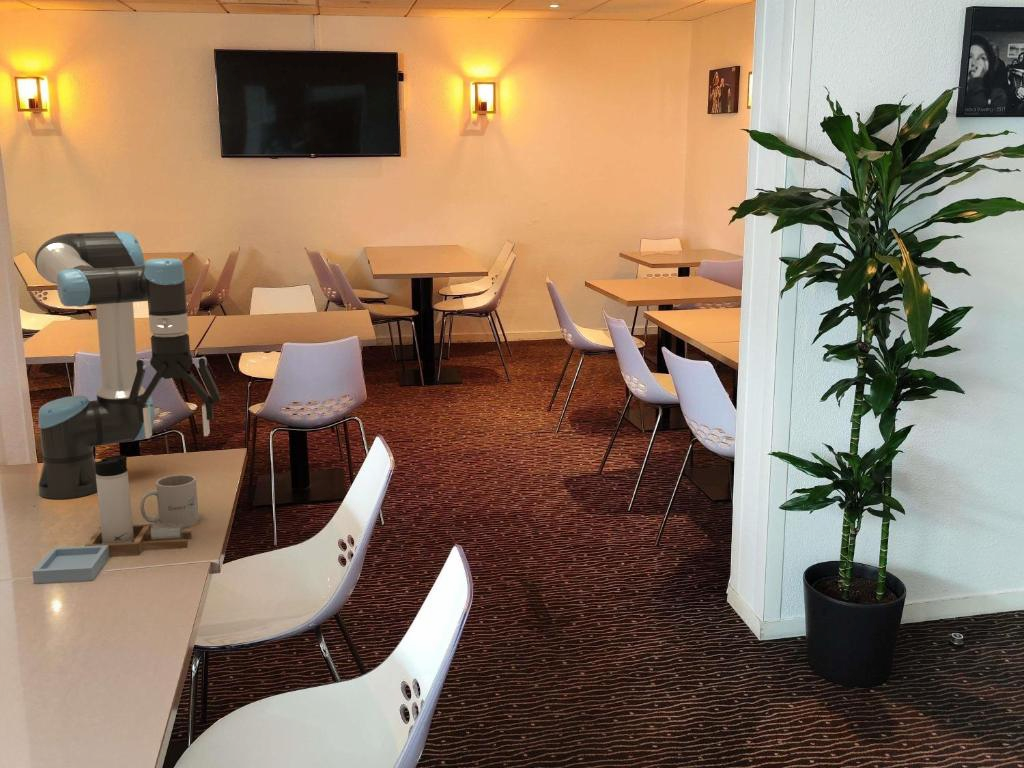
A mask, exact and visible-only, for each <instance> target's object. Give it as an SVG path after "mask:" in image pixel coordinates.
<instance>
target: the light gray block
mask: <svg viewBox="0 0 1024 768" xmlns="http://www.w3.org/2000/svg"><path fill="white" fill-rule="evenodd" d="M183 531H184V529H183V524H182V523H169V524H160V523H154V524H153V525H151V540H152V541H159V540H179V539H184V537H183Z"/></svg>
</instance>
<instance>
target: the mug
mask: <svg viewBox="0 0 1024 768" xmlns="http://www.w3.org/2000/svg"><path fill="white" fill-rule="evenodd" d="M155 487H156V489H152V490H148V491H146V492H145V493H144V494H143V495H142V497H141V499H140V505H139V506H140V509H139V510H140V515H141V517H142V518H143V519H144V520H146V521H147V522H148V523H156V522H158V524H169V523H182V524H183V528H189V527H191V526H194V525H197V524H198V523H199V521H200V517H199V515H200V514H199V505H198V504H199V503H198V491H197V489H198V488H197V478H196V477H195V476H193V475H189V474H174V475H170V476H169V475H168V476H164V477H161V478H159V479H157V480H156V481H155ZM150 496H156V498H157V500H156V501H157V509H158V511H157V512H158V515H155V516H154V517H149V516H148V515H147V513H146V511H145V502H146V499H147V498H149V497H150Z"/></svg>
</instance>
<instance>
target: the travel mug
mask: <svg viewBox="0 0 1024 768" xmlns="http://www.w3.org/2000/svg"><path fill="white" fill-rule="evenodd" d="M127 460H128V457H127V456H126V455H114V456H108V457H104V458H101V459H100V460H99V461H98V460H97V461H96V462H95V469H96V482H97V492H96V493H97V501H98V509H99V510H98V512H99V520H100V521H99V522H100V526H101V532H102V540H103V543H102V544H106V543H126V542H134V540H135V537H133V536H134V534H133V525H134V523H133V514H132V504H131V503H132V502H131V494H130V483H129V474H128V473H129V472H128V466H127V465H128V464H127Z"/></svg>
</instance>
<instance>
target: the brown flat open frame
mask: <svg viewBox="0 0 1024 768" xmlns="http://www.w3.org/2000/svg"><path fill="white" fill-rule="evenodd" d="M151 528H152V524H151V523H148V524H145V523H143V524H133V534H134V536H133V537H134V542H126V543H106V544H103V540H102V532H101V525H100V526H99V527H98V528H97V530H96V531H95V532H94V533H93V535H92V536H91V537H90V538H89V540H88V541H87V542H86V544H85V545H84V546H102V545H108V547H109V558H111V557H129V556H139V555H140V554H141V552H142V551H148V550H149V551H151V550H165V549H167V550H169V549H170V550H171V549H186V548H187V547H188V540H191V539H192V538H193V536H192V535H193V534H192V530H183V537H184V539H179V540H159V541H152V540H151Z"/></svg>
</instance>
